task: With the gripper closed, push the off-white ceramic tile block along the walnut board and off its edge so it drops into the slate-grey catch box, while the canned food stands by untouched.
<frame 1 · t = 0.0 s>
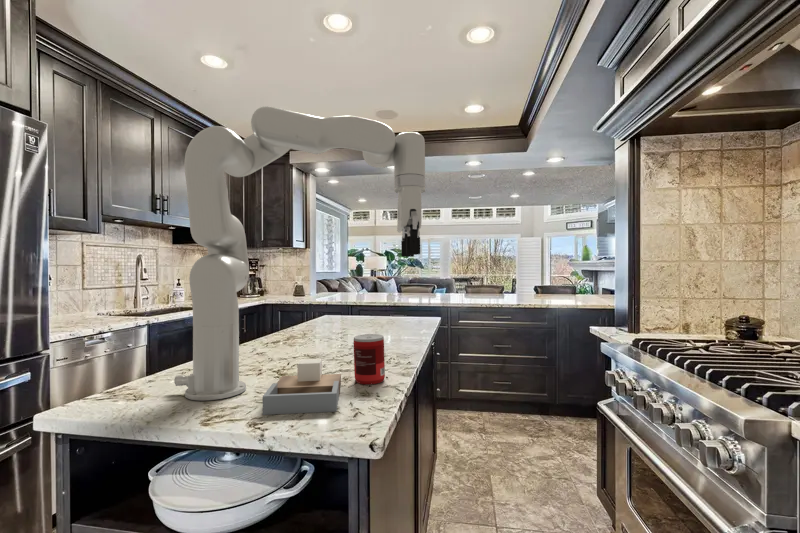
hand: (410, 255, 94), 31 cm above the counter, tool pointing down, fingers open, 9 cm apart
tile block: (310, 378, 91), point 2 cm above the counter, touching board
canned food: (369, 381, 97), on the counter
board: (309, 391, 89), on the counter
catch box: (303, 404, 80), on the counter
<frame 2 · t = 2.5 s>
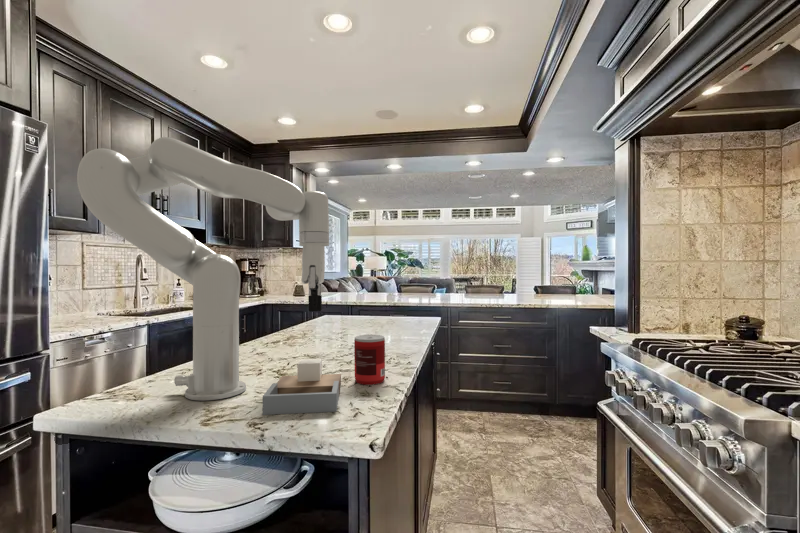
hand: (315, 310, 100), 17 cm above the counter, tool pointing down, fingers closed
nothing on the counter moved.
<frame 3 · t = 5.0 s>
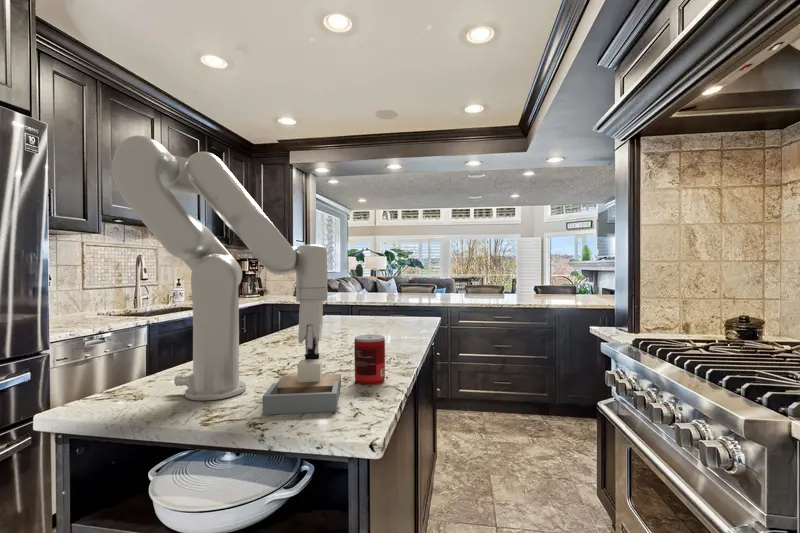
hand: (312, 370, 95), 3 cm above the counter, tool pointing down, fingers closed
tile block: (310, 379, 90), point 3 cm above the counter, touching board, gripper
everything else where it was.
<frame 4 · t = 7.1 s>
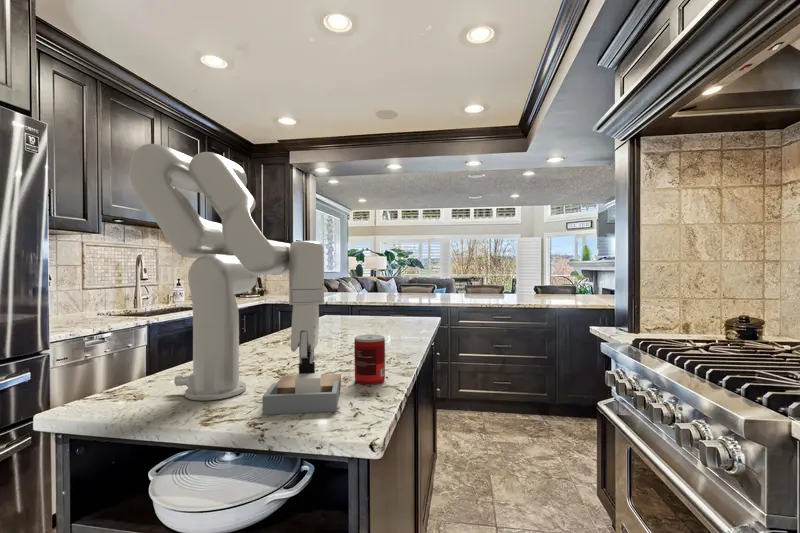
hand: (307, 380, 85), 3 cm above the counter, tool pointing down, fingers closed
tile block: (309, 385, 83), point 3 cm above the counter, tilted 91°, touching catch box, gripper
everything else where it was.
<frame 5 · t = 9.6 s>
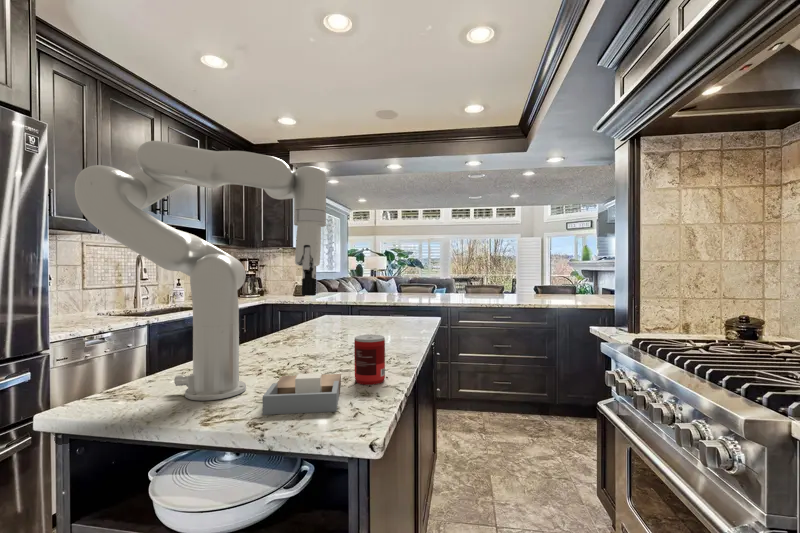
hand: (309, 295, 93), 22 cm above the counter, tool pointing down, fingers closed
tile block: (309, 385, 83), point 3 cm above the counter, tilted 90°, touching catch box
everything else where it was.
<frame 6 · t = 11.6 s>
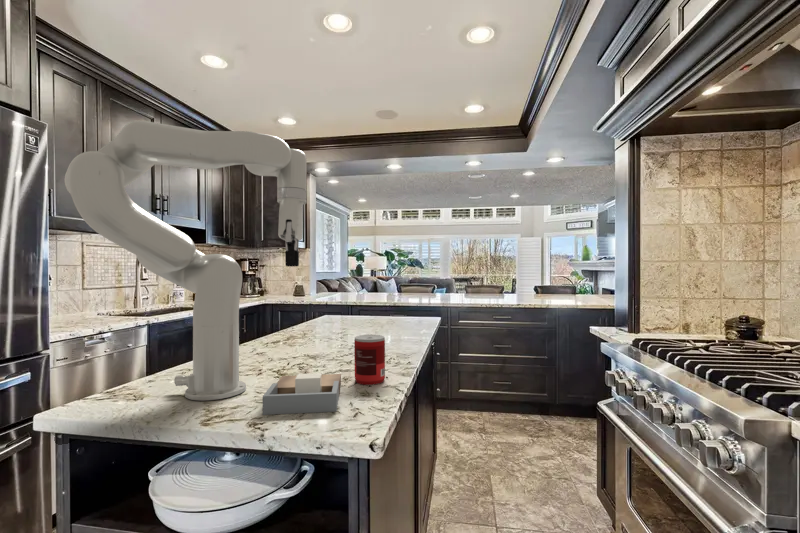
hand: (292, 266, 103), 29 cm above the counter, tool pointing down, fingers closed
nothing on the counter moved.
at the end: tile block inside the target area on the catch box (3.4 cm from its centre), point 3.0 cm above the catch box's base; tile block touching catch box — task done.
